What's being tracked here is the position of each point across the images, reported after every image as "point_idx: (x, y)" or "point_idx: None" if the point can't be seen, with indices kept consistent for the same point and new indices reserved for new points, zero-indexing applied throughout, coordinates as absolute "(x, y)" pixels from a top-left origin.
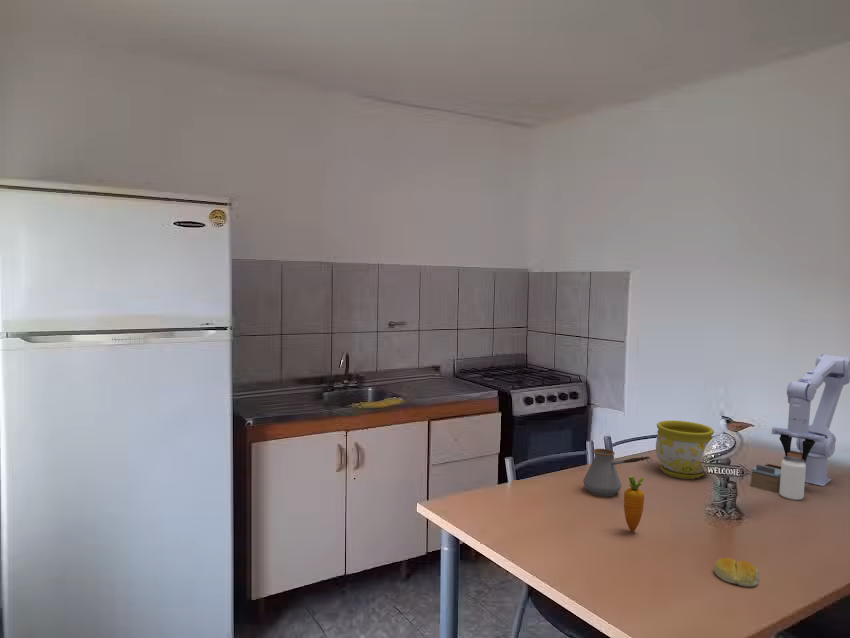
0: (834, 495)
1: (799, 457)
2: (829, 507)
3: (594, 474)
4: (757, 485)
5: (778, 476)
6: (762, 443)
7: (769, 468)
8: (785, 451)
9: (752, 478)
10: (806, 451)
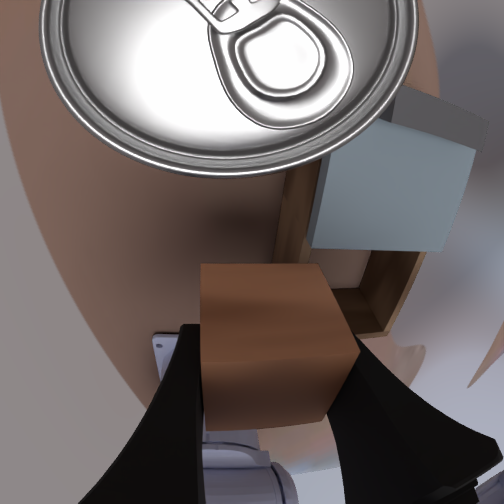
0: (78, 261)
1: (223, 339)
2: (35, 54)
3: None
4: None
5: None
6: None
7: (422, 93)
8: (377, 365)
9: None
10: (150, 427)
